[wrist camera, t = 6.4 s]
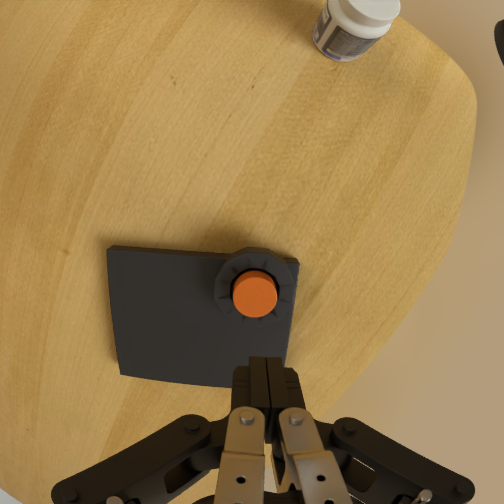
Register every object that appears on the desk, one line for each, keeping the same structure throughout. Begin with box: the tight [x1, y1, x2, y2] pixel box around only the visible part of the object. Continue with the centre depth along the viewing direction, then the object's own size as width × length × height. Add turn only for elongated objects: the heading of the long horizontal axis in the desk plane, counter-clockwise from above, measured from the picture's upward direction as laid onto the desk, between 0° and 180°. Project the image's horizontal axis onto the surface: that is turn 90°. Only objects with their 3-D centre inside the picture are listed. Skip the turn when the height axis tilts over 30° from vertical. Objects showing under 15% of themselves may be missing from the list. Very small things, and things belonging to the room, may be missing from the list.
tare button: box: [233, 271, 277, 317], centre depth 23 cm, size 3×3×2 cm
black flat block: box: [107, 246, 300, 388], centre depth 26 cm, size 16×14×3 cm
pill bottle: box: [313, 0, 400, 62], centre depth 17 cm, size 5×5×8 cm
